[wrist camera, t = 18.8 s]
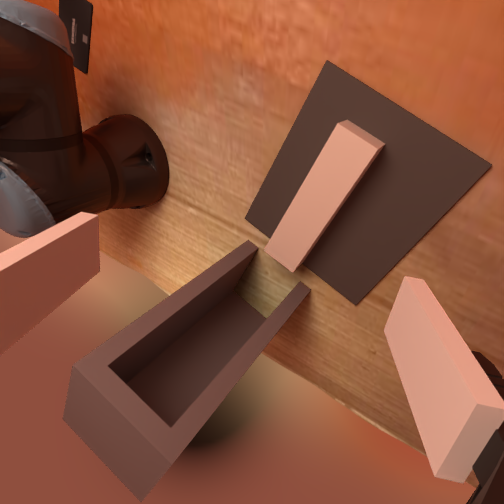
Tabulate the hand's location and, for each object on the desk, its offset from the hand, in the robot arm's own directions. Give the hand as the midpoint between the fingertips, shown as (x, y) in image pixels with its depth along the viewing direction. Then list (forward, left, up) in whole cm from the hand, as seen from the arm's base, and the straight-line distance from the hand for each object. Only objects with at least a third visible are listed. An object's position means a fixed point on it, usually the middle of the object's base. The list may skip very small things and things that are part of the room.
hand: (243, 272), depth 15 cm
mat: (-1, -7, -31) cm, 32 cm away
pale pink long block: (-3, -9, -31) cm, 32 cm away
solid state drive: (-50, -11, -32) cm, 60 cm away
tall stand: (-3, -28, -31) cm, 42 cm away
